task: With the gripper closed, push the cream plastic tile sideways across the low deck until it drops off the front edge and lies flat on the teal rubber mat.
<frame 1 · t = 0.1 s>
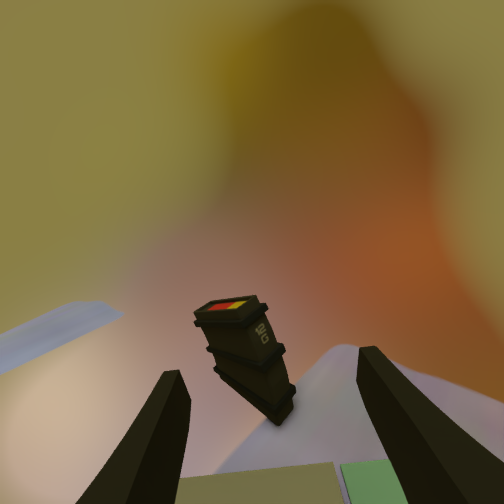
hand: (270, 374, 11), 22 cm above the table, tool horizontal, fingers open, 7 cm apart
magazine: (248, 388, 35), on the table
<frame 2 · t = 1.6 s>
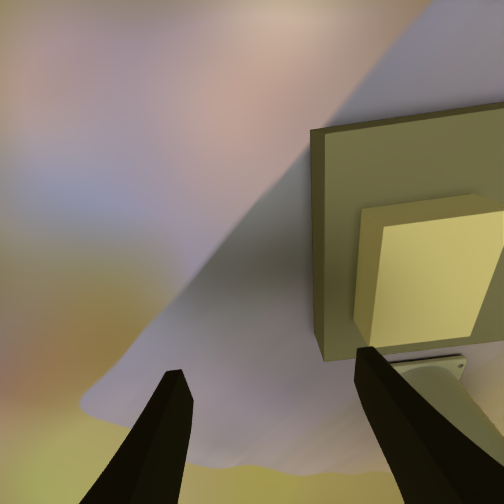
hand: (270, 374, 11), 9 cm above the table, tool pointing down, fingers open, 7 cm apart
deck: (411, 238, 19), on the table
tile: (418, 275, 15), point 4 cm above the table, touching deck
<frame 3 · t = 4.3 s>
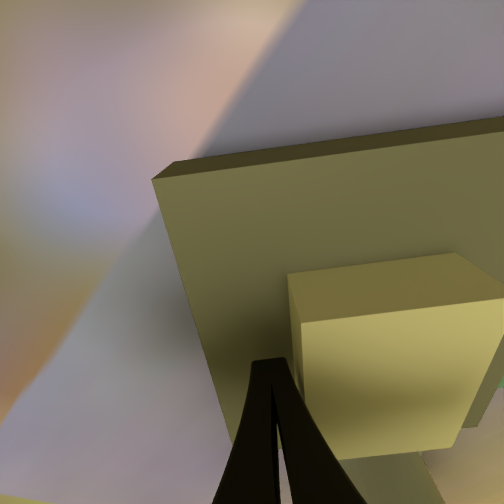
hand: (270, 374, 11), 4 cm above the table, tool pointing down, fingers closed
deck: (342, 299, 14), on the table
tile: (375, 366, 10), point 4 cm above the table, touching gripper
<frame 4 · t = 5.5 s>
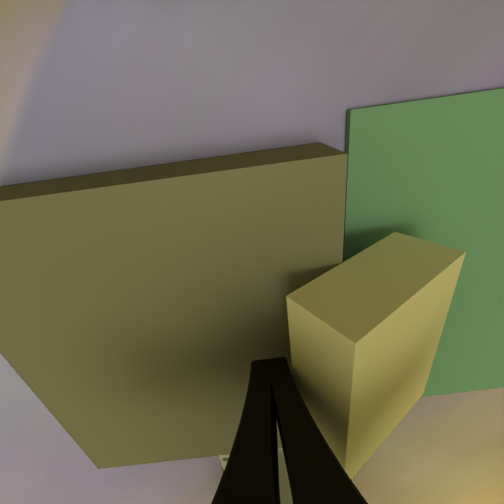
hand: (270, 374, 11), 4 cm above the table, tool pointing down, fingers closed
deck: (191, 318, 14), on the table
mat: (451, 285, 14), on the table
tile: (369, 355, 11), point 4 cm above the table, tilted 33°, touching deck
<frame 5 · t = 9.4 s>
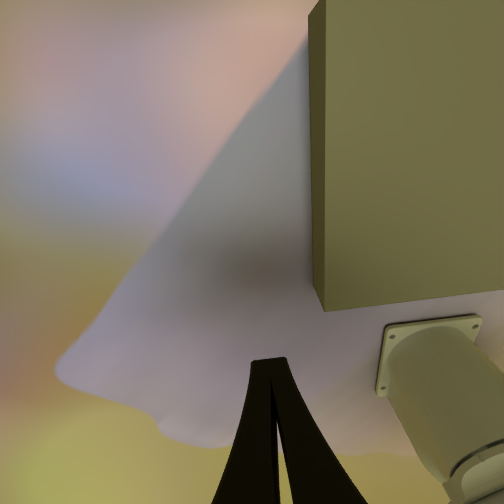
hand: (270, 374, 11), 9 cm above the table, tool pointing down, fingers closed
deck: (424, 166, 16), on the table
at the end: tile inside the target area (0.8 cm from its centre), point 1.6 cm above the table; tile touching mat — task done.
